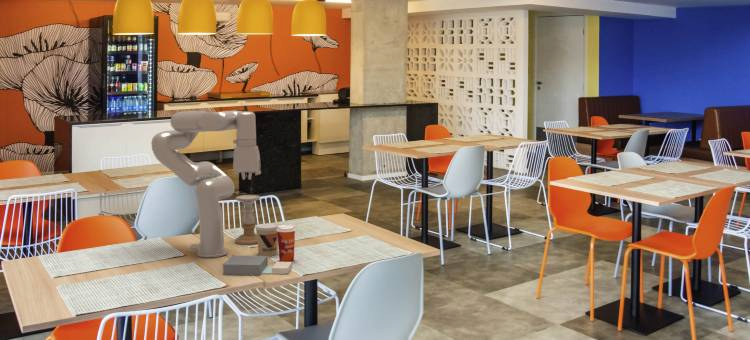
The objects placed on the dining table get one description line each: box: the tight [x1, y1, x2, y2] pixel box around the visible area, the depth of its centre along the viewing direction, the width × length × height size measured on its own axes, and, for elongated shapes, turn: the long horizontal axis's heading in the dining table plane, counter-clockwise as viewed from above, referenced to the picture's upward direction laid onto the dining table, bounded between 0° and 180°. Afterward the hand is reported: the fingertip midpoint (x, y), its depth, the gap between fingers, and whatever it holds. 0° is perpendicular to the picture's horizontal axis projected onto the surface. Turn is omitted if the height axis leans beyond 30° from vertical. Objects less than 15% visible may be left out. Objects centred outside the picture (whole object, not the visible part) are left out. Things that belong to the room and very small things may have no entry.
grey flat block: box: [222, 254, 269, 276], centre depth 295 cm, size 14×13×4 cm
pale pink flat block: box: [272, 261, 293, 275], centre depth 294 cm, size 6×9×2 cm, turn 175°
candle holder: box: [234, 194, 261, 246], centre depth 339 cm, size 12×12×20 cm
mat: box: [261, 265, 285, 275], centre depth 295 cm, size 9×10×1 cm
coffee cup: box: [255, 223, 279, 257], centre depth 319 cm, size 9×9×12 cm
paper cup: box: [276, 224, 297, 263], centre depth 308 cm, size 8×8×14 cm
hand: (247, 188), depth 306 cm, fingers closed
